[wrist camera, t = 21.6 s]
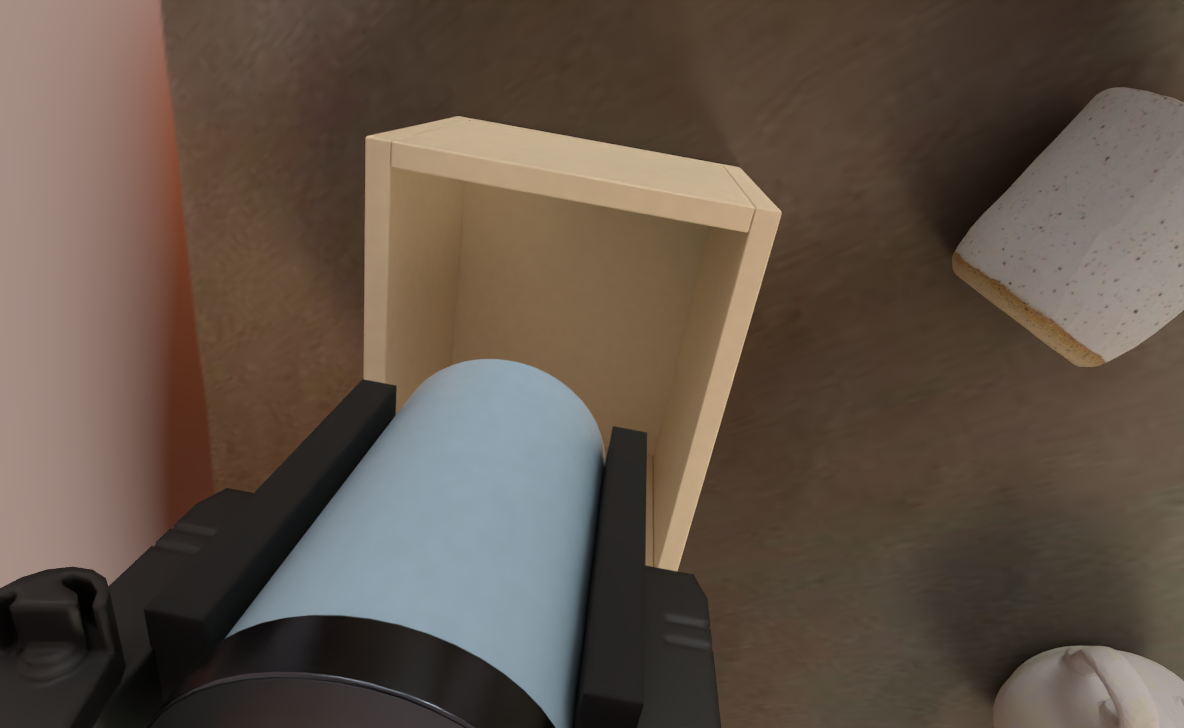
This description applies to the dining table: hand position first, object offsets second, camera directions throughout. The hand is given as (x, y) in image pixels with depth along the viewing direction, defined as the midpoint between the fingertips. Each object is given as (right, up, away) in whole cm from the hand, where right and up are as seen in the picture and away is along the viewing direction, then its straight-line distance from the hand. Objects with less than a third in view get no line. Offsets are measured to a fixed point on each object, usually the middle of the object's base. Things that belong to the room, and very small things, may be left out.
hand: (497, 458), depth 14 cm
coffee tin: (0, 0, 0) cm, 0 cm away
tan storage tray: (+1, +5, +17) cm, 17 cm away
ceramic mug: (+23, +8, +13) cm, 28 cm away
